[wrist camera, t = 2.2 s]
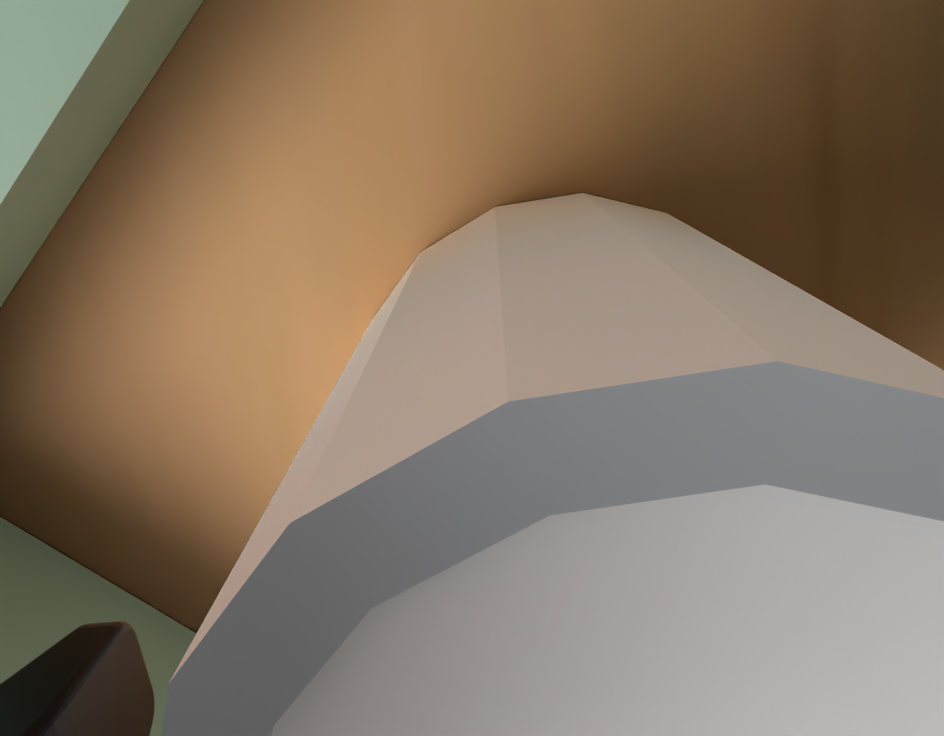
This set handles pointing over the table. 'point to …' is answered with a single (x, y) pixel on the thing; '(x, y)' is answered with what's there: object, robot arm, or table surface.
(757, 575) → the white cup
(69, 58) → the green tray
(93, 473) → the table surface
